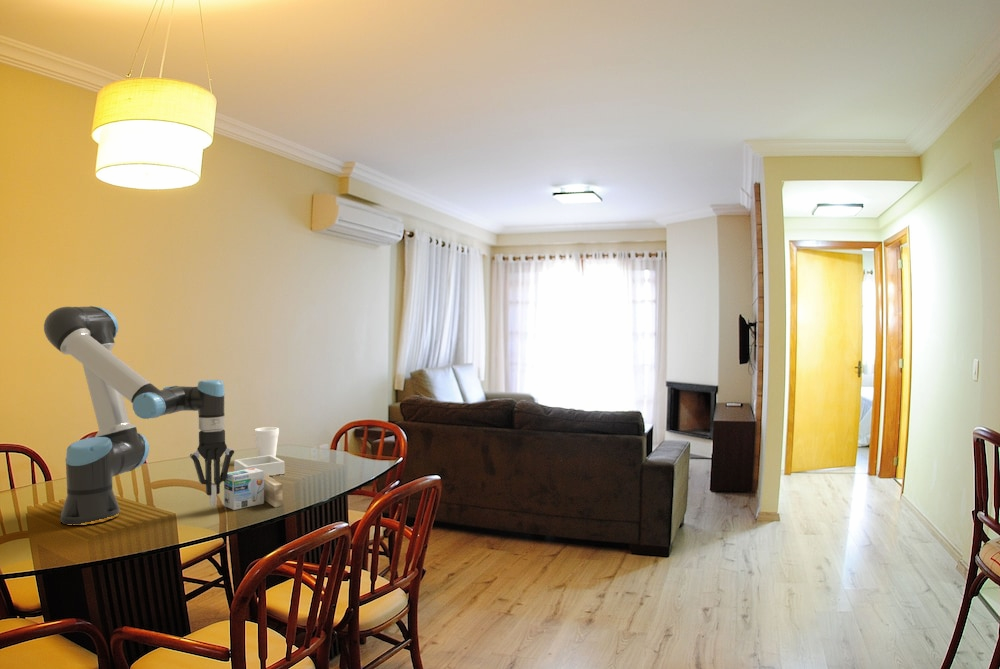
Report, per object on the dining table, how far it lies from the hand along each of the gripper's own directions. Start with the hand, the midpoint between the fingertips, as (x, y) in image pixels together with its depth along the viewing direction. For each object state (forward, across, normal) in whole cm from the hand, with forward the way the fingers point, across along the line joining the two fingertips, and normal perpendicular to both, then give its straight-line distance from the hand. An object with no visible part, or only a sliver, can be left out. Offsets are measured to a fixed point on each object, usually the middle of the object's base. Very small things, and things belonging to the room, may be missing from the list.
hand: (213, 504), depth 210 cm
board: (+2, +18, +2) cm, 18 cm away
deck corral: (+1, +26, +38) cm, 46 cm away
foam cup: (+1, +36, +59) cm, 69 cm away
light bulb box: (+2, +9, 0) cm, 10 cm away
